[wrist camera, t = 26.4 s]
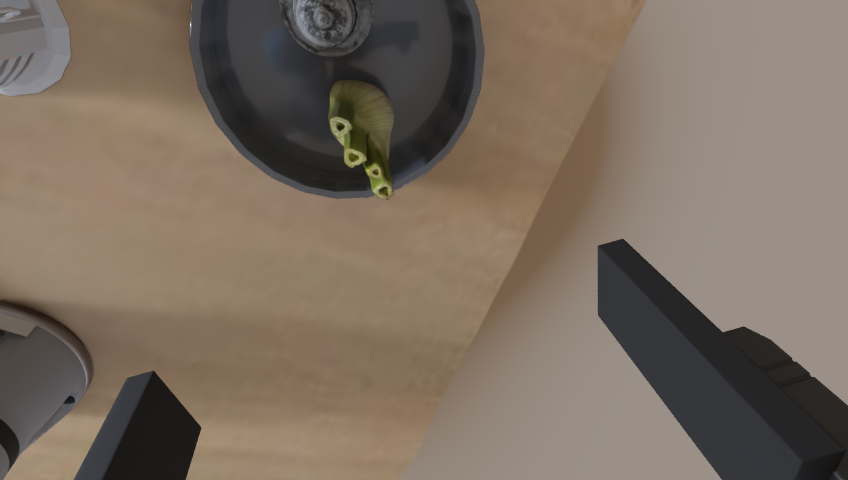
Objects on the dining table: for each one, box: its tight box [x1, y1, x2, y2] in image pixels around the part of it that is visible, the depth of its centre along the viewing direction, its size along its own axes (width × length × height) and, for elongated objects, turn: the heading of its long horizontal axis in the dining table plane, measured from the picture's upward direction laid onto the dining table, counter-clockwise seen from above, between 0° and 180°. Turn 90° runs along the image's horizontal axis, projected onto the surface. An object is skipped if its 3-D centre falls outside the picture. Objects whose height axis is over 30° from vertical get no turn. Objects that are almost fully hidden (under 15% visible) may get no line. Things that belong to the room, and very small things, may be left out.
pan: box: [189, 0, 484, 199], centre depth 31 cm, size 19×19×4 cm
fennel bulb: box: [328, 80, 394, 200], centre depth 30 cm, size 6×5×12 cm
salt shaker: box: [279, 0, 374, 57], centre depth 26 cm, size 6×6×12 cm
